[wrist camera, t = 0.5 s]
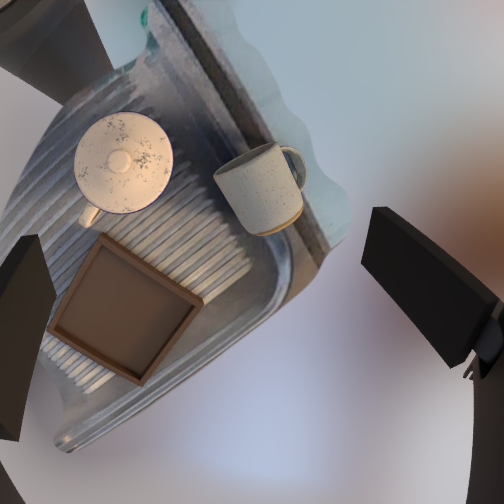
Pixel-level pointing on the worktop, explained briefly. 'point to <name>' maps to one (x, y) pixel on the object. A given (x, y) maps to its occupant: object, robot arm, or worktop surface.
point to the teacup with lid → (122, 164)
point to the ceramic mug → (264, 188)
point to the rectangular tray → (123, 311)
